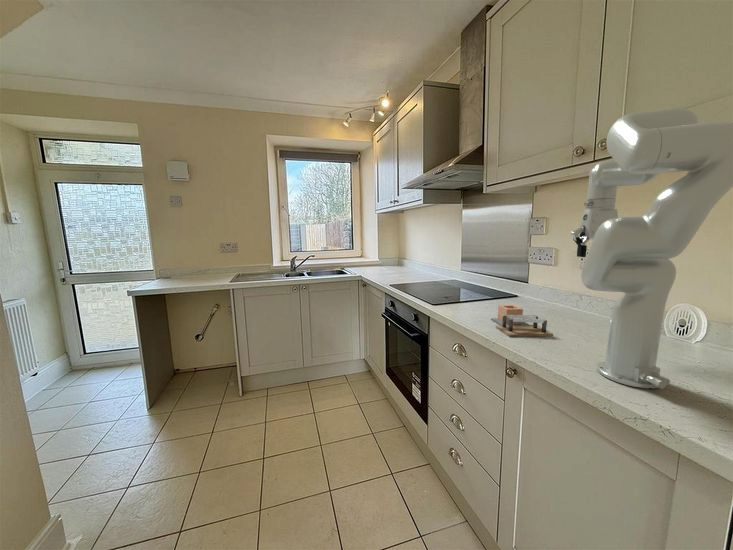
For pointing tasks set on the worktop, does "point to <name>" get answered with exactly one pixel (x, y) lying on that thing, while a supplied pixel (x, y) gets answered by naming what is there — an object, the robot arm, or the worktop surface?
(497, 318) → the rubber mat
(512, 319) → the grey small table
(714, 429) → the worktop surface
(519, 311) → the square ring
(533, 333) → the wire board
